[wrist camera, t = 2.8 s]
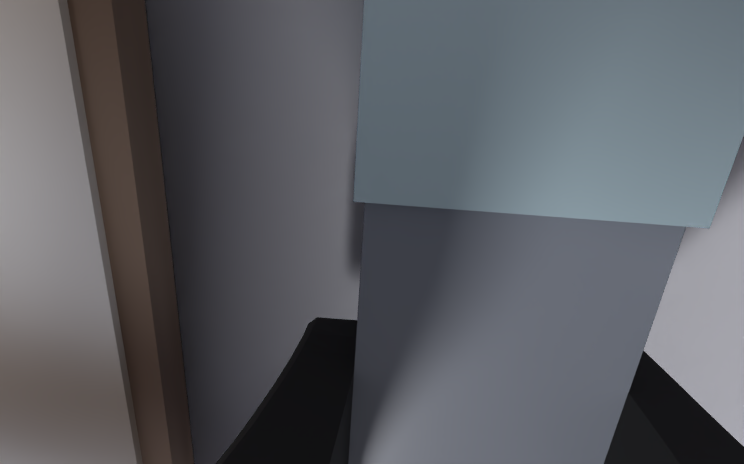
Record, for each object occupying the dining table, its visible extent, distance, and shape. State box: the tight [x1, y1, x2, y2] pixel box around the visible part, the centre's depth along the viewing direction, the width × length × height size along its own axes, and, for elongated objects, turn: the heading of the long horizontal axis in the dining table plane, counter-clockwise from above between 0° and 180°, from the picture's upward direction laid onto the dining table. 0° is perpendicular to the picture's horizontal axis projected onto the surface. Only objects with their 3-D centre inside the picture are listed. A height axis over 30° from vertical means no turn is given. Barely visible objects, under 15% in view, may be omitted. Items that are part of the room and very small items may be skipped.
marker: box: [348, 0, 744, 464], centre depth 9 cm, size 12×3×3 cm, turn 176°
